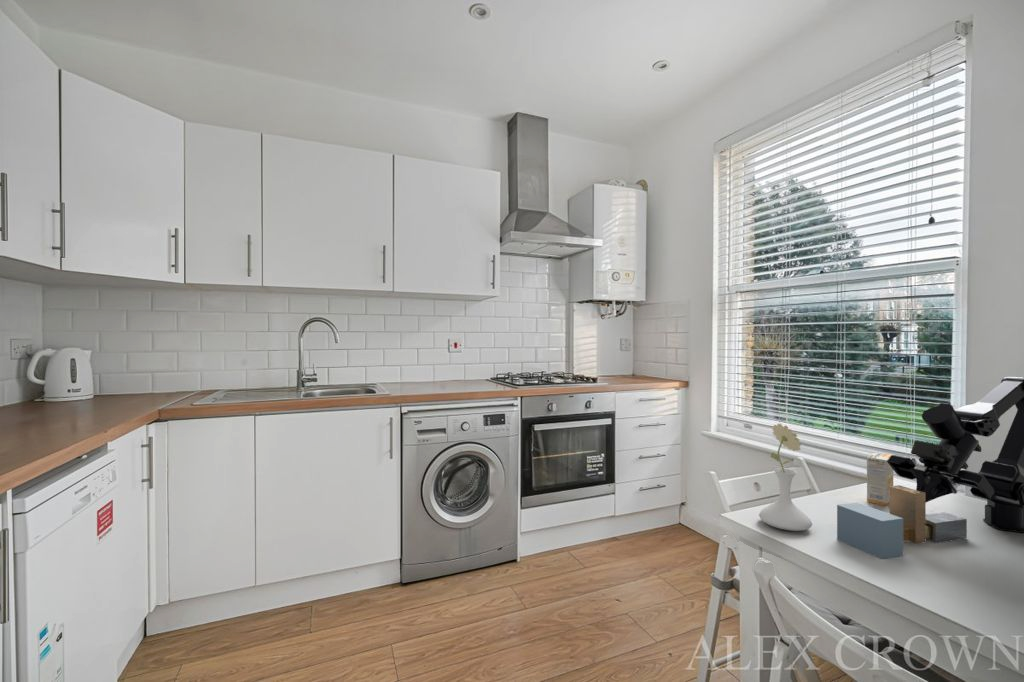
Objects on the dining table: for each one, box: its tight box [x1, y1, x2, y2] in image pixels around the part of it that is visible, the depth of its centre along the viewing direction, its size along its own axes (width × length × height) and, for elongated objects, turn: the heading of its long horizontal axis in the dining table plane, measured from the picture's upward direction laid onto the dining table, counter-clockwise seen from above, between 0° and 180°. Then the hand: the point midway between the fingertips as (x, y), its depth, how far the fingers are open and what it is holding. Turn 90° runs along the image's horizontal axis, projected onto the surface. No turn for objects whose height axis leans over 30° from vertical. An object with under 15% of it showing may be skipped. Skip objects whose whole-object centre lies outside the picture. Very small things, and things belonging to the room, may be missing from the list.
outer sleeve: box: [925, 511, 968, 544], centre depth 107 cm, size 10×4×5 cm, turn 105°
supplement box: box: [866, 452, 894, 506], centre depth 132 cm, size 8×5×13 cm, turn 130°
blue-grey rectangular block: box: [836, 502, 904, 560], centre depth 102 cm, size 6×10×8 cm, turn 15°
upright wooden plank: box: [889, 484, 933, 544], centre depth 105 cm, size 20×6×11 cm, turn 105°
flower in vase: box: [758, 423, 813, 532], centre depth 114 cm, size 13×11×25 cm
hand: (918, 502), depth 105 cm, fingers closed
